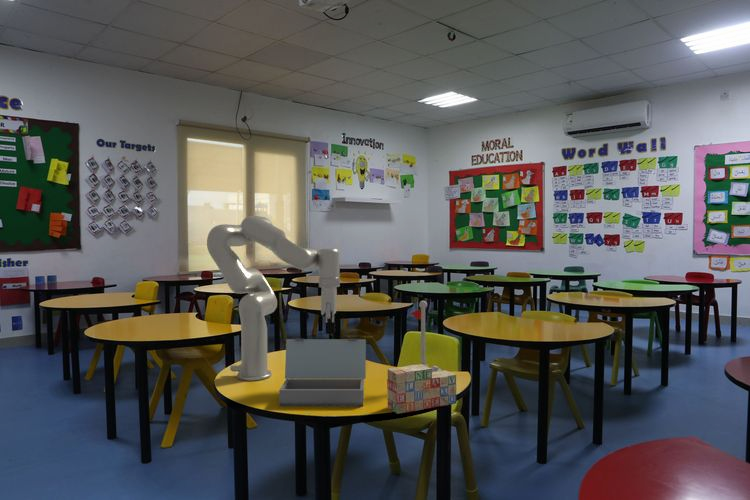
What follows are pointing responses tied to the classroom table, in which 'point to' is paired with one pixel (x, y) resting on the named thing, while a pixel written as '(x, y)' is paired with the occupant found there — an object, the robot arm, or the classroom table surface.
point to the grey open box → (322, 392)
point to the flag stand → (423, 332)
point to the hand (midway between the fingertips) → (330, 333)
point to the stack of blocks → (419, 388)
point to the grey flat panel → (325, 359)
